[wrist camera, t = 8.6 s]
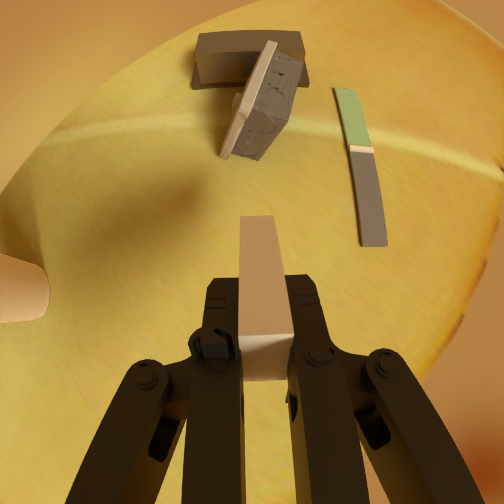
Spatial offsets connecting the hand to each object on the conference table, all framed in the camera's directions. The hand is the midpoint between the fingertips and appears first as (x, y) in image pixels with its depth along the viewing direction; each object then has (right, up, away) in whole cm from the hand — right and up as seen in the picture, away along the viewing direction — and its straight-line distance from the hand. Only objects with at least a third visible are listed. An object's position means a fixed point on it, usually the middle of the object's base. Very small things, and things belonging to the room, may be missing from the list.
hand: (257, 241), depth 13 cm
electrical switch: (0, +11, +11) cm, 15 cm away
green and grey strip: (+10, +8, +10) cm, 16 cm away
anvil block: (0, +18, +12) cm, 22 cm away
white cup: (-23, -5, +8) cm, 25 cm away
